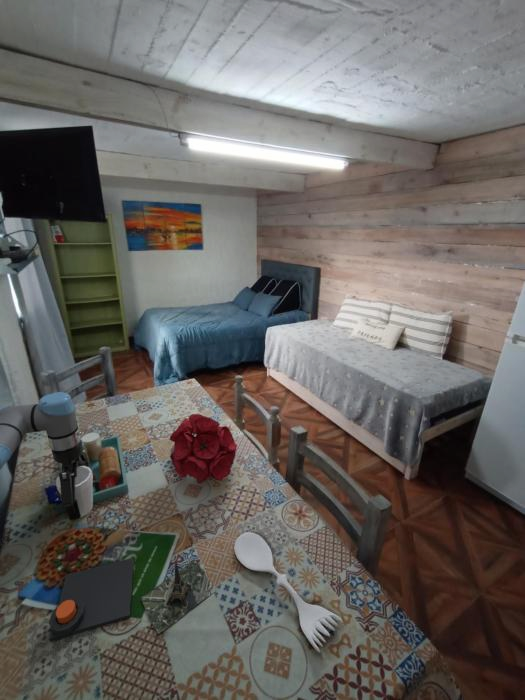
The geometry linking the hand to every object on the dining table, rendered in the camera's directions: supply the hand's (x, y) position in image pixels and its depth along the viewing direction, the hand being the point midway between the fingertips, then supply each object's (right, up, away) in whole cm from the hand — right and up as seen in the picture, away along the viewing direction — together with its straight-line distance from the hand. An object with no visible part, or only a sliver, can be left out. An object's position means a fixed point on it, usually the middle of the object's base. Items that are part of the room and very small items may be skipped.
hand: (80, 500), depth 98 cm
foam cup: (0, -4, +1) cm, 4 cm away
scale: (+17, -13, -22) cm, 31 cm away
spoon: (+61, -13, -18) cm, 65 cm away
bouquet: (+34, +2, +18) cm, 39 cm away
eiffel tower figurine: (+36, -13, -21) cm, 44 cm away
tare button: (+13, -12, -28) cm, 33 cm away
